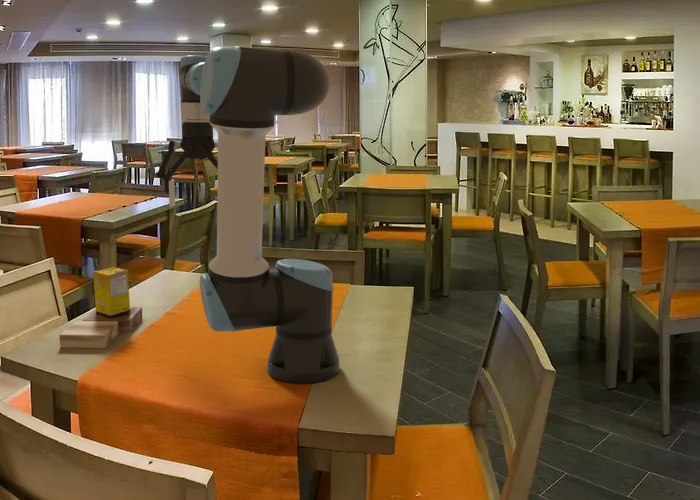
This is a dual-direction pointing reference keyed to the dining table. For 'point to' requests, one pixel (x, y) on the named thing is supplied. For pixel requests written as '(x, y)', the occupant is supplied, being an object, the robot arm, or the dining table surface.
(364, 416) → the dining table surface
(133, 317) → the walnut stand
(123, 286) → the supplement box
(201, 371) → the dining table surface
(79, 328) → the oak stand
